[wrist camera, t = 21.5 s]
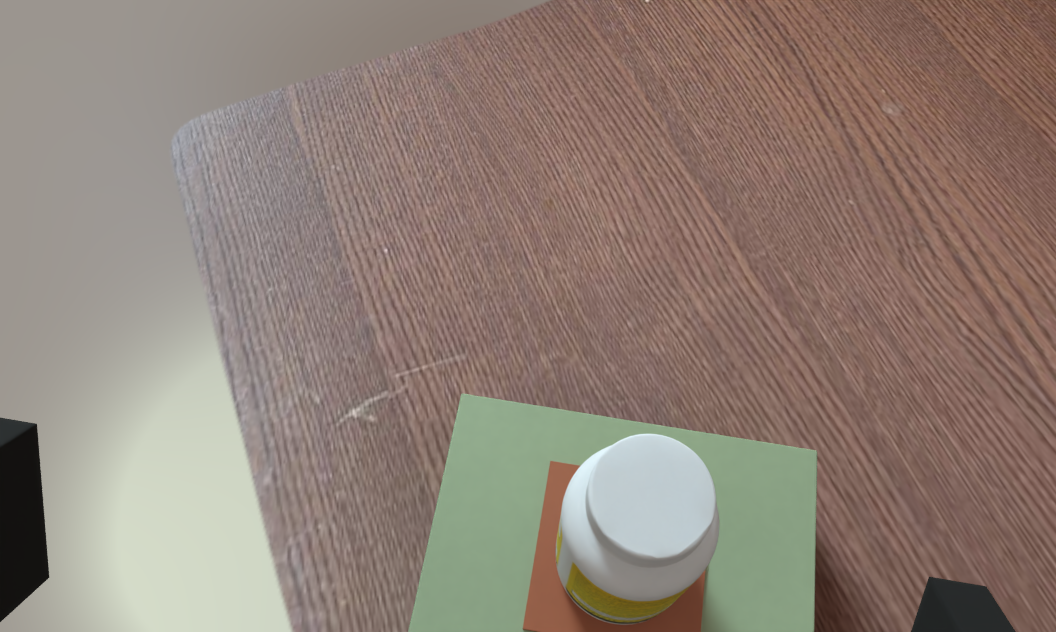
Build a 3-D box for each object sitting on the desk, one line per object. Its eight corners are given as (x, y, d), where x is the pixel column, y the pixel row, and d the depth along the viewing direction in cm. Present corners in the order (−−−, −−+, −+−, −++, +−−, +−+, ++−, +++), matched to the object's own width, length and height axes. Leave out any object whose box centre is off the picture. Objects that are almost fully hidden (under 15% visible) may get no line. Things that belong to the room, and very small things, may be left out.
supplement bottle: (707, 600, 33) (769, 552, 25) (580, 645, 33) (598, 612, 24) (656, 475, 36) (697, 391, 27) (537, 514, 35) (539, 441, 26)
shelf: (414, 682, 37) (397, 675, 32) (469, 429, 42) (461, 391, 38) (777, 752, 36) (813, 754, 31) (786, 481, 41) (818, 448, 36)
